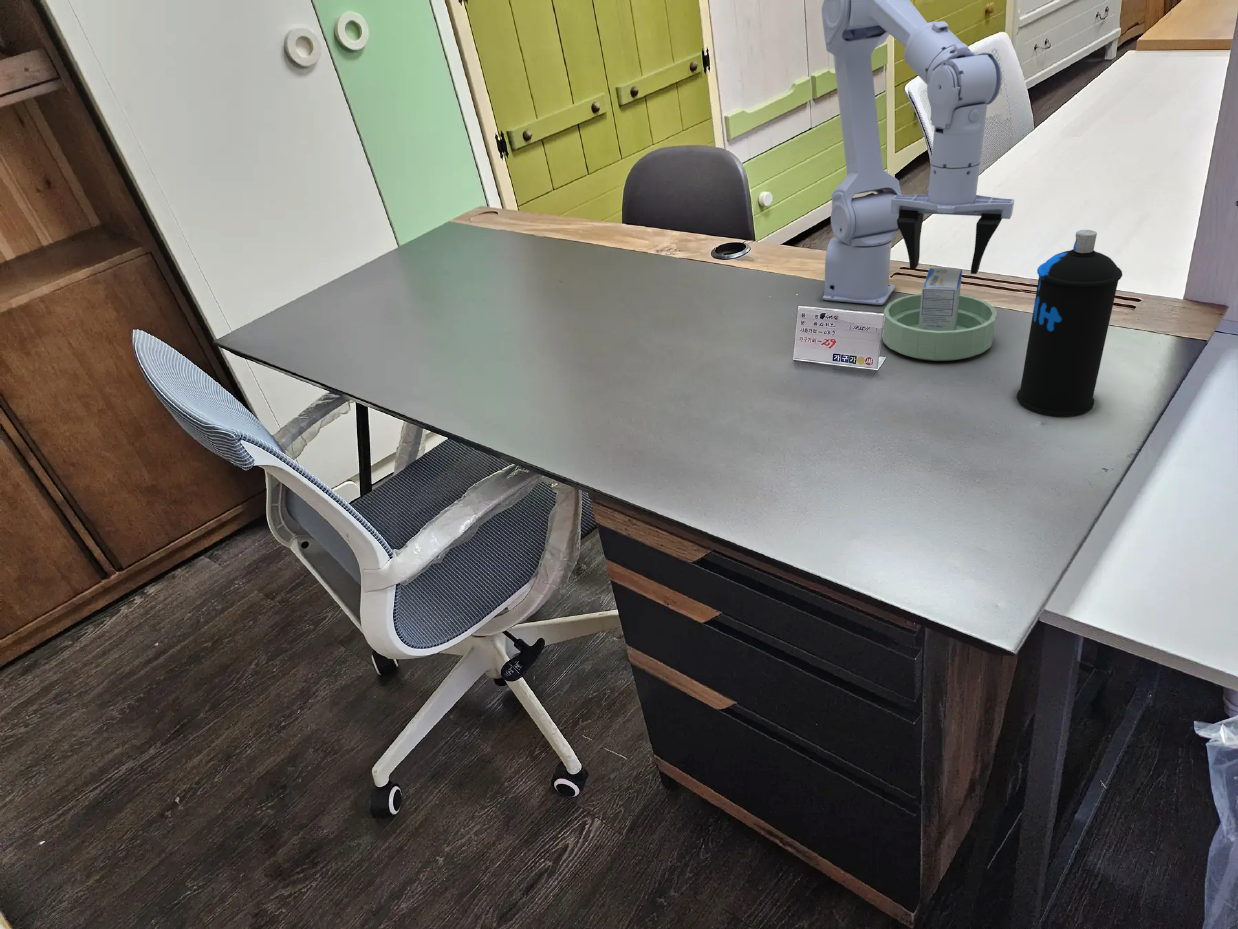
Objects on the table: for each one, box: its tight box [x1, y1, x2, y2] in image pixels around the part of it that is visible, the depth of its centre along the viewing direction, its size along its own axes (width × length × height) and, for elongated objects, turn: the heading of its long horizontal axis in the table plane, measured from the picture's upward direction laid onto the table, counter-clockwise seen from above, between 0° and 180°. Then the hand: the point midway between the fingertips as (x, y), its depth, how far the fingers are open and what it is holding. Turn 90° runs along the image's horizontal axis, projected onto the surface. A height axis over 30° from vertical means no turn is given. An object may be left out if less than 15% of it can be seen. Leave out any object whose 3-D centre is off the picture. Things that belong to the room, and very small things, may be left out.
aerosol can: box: [1016, 229, 1123, 417], centre depth 94 cm, size 8×8×20 cm
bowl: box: [882, 292, 998, 362], centre depth 115 cm, size 14×14×4 cm
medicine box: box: [919, 267, 963, 331], centre depth 114 cm, size 8×4×9 cm, turn 157°
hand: (943, 269), depth 112 cm, fingers open, 7 cm apart
